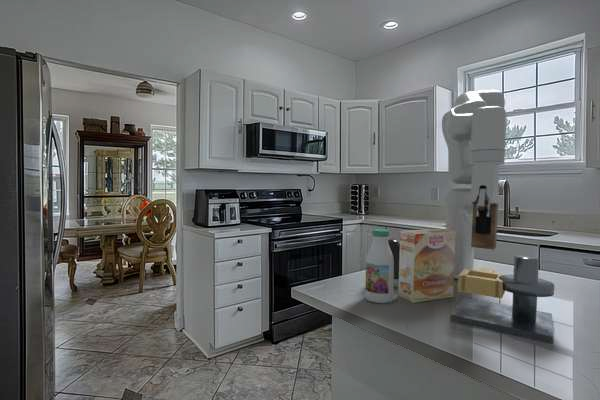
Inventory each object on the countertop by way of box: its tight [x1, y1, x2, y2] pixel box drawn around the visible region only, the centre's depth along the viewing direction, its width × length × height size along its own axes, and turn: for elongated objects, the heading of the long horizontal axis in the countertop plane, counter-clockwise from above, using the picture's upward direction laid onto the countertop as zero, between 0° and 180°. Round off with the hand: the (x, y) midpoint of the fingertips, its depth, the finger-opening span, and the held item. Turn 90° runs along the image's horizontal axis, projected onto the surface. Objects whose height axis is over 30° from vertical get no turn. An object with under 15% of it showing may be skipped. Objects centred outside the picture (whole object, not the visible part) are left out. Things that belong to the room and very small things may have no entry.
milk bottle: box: [364, 228, 394, 304], centre depth 98 cm, size 8×8×20 cm
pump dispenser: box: [388, 238, 400, 289], centre depth 111 cm, size 10×10×15 cm
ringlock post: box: [450, 255, 555, 345], centre depth 84 cm, size 20×16×16 cm
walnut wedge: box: [471, 202, 499, 251], centre depth 85 cm, size 5×4×11 cm
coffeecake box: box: [397, 228, 456, 303], centre depth 101 cm, size 15×7×20 cm, turn 112°
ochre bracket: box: [457, 267, 507, 300], centre depth 89 cm, size 10×14×4 cm, turn 144°
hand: (484, 231), depth 85 cm, fingers closed on walnut wedge, 4 cm apart
